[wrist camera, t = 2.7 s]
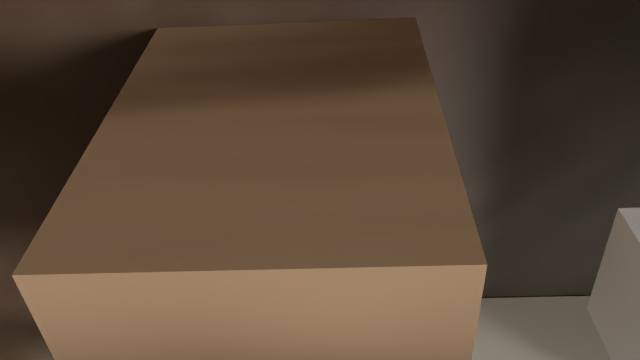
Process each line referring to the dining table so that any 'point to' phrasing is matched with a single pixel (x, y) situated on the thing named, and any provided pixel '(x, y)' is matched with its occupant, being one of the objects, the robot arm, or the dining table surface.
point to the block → (264, 206)
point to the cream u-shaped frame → (537, 330)
